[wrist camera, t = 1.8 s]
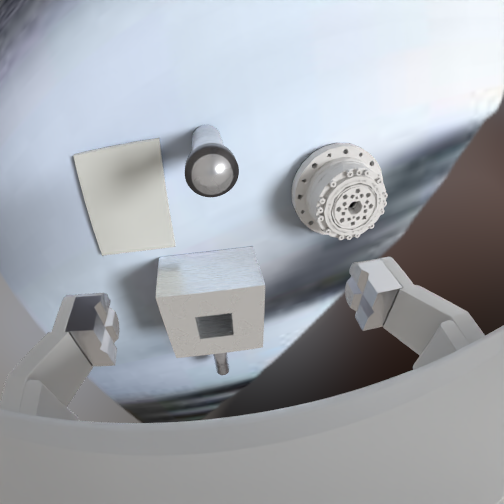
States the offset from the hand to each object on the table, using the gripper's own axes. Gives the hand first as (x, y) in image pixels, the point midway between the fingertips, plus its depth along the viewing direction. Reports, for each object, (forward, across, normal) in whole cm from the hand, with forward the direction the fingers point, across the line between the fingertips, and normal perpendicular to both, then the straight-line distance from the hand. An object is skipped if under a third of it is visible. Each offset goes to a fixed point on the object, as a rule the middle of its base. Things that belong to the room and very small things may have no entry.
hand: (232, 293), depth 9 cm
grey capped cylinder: (+18, 0, 0) cm, 18 cm away
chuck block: (+18, +1, +21) cm, 28 cm away
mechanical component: (+19, -13, +6) cm, 23 cm away
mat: (+18, +8, +5) cm, 21 cm away
